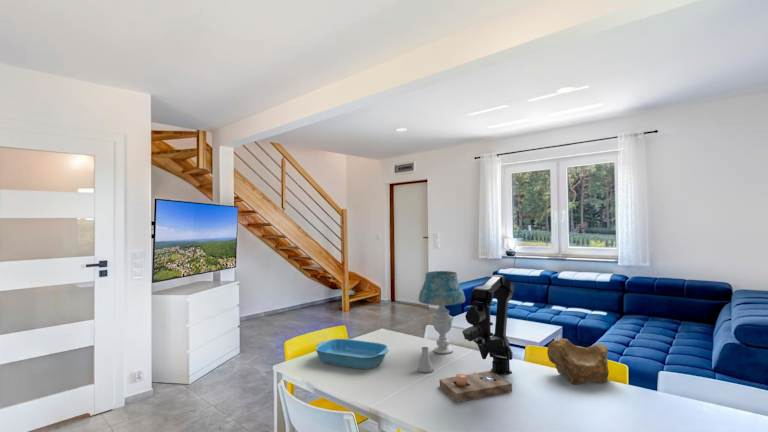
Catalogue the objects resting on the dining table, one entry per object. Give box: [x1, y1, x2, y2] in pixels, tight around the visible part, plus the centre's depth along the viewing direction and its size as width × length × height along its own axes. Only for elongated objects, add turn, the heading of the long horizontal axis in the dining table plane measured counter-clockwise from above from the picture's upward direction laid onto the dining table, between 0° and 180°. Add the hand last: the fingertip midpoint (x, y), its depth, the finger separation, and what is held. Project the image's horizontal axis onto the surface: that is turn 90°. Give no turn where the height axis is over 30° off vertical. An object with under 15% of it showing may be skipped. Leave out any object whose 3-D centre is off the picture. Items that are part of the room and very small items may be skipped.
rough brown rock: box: [547, 338, 610, 385], centre depth 156 cm, size 23×17×15 cm
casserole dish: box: [315, 338, 389, 370], centre depth 185 cm, size 37×22×7 cm, turn 67°
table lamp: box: [418, 270, 466, 355], centre depth 196 cm, size 24×24×40 cm
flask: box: [417, 346, 434, 374], centre depth 170 cm, size 7×7×10 cm
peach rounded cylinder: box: [455, 373, 468, 387], centre depth 148 cm, size 4×4×3 cm
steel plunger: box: [482, 376, 494, 383], centre depth 152 cm, size 4×4×3 cm
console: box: [438, 370, 513, 402], centre depth 150 cm, size 24×14×3 cm, turn 108°
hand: (483, 359), depth 151 cm, fingers closed
